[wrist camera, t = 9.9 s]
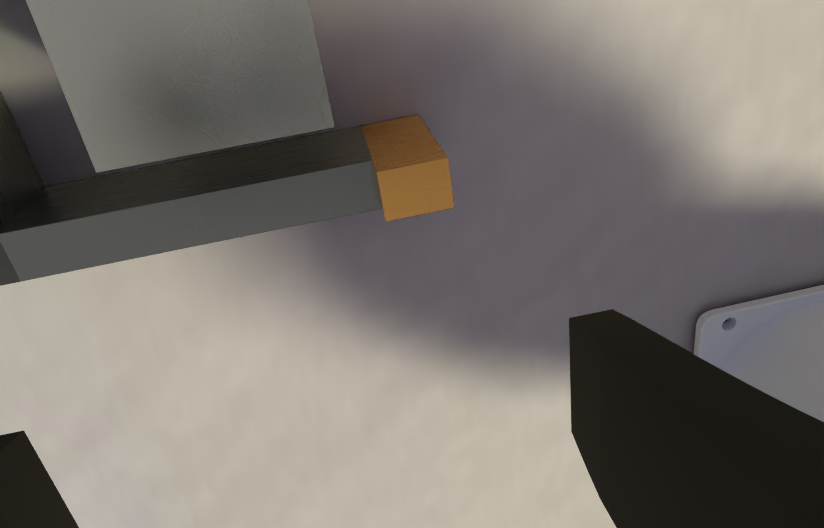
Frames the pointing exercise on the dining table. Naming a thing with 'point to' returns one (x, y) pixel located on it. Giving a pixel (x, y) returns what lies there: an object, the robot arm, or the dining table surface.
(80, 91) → the link block
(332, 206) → the keeper
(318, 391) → the dining table surface
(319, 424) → the dining table surface
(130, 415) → the dining table surface
